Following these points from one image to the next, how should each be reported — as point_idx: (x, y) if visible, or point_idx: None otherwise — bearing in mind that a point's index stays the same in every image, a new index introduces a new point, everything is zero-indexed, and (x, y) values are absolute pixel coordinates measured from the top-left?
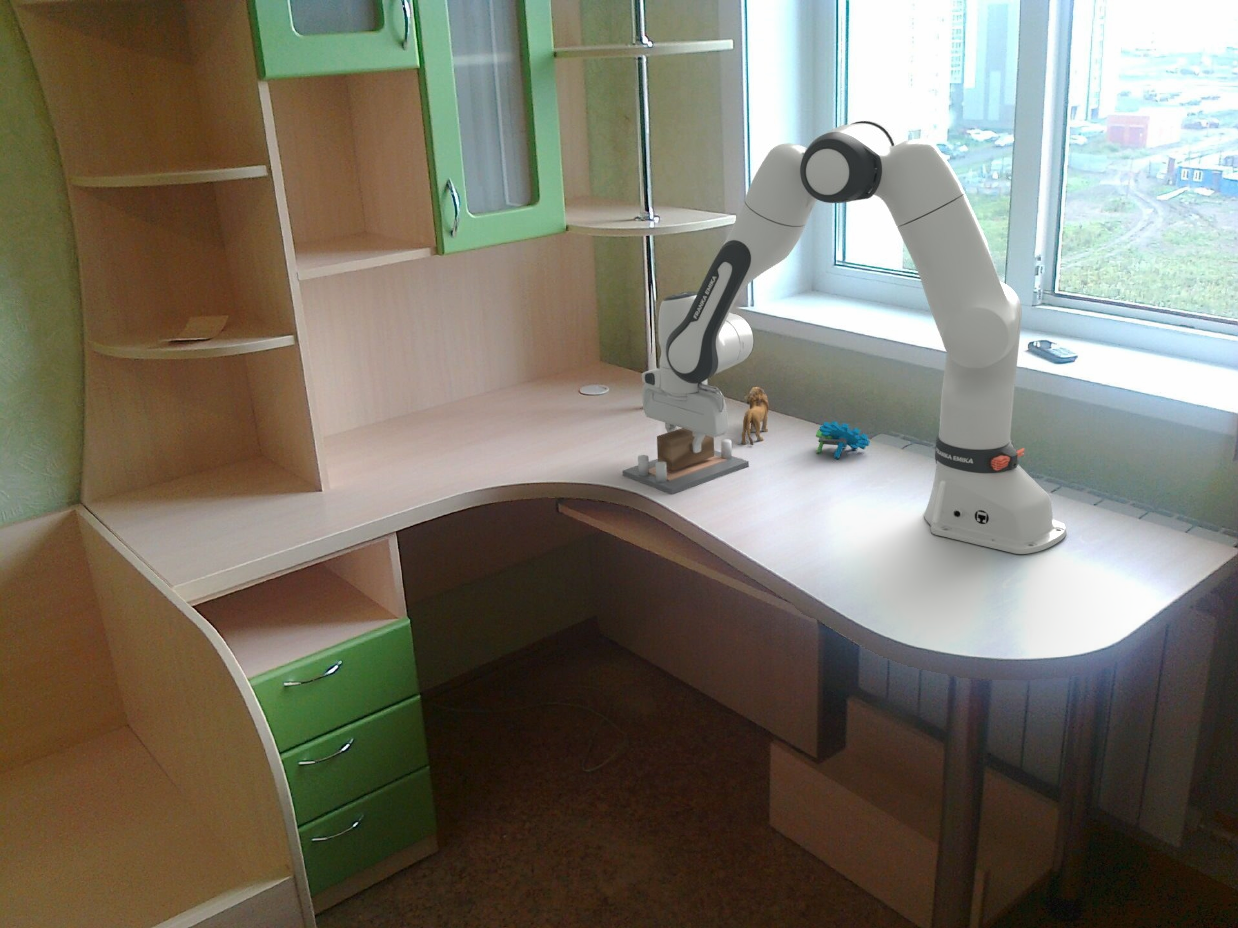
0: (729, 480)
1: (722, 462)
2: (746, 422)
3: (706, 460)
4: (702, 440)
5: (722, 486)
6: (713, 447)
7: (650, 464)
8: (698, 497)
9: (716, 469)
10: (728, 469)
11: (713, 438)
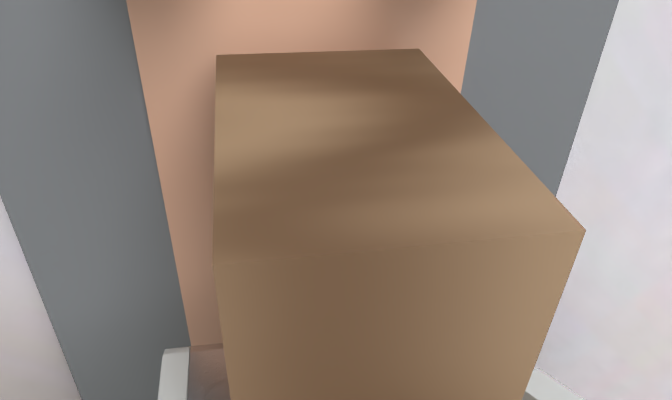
0: (629, 132)
1: (484, 6)
2: None
3: None
4: (565, 389)
5: (630, 213)
6: (449, 90)
7: (124, 368)
8: (588, 347)
9: (526, 143)
10: (591, 68)
11: (494, 137)
